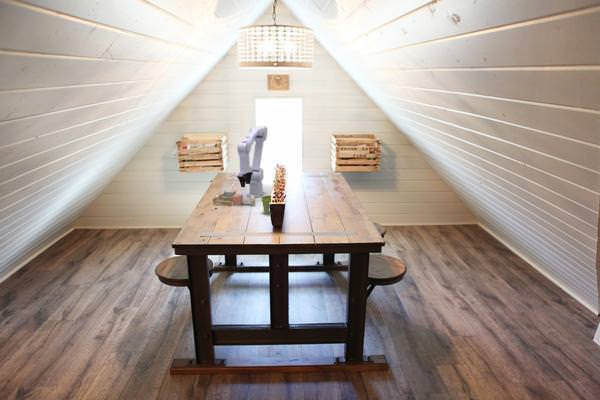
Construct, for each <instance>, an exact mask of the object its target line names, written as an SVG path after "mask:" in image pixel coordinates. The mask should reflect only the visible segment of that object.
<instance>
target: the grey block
mask: <svg viewBox="0 0 600 400" xmlns="http://www.w3.org/2000/svg"><path fill="white" fill-rule="evenodd" d="M235 194H237V192H236V190H233V189H230V190H226V197H228V198H232V196H234V195H235Z"/></svg>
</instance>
